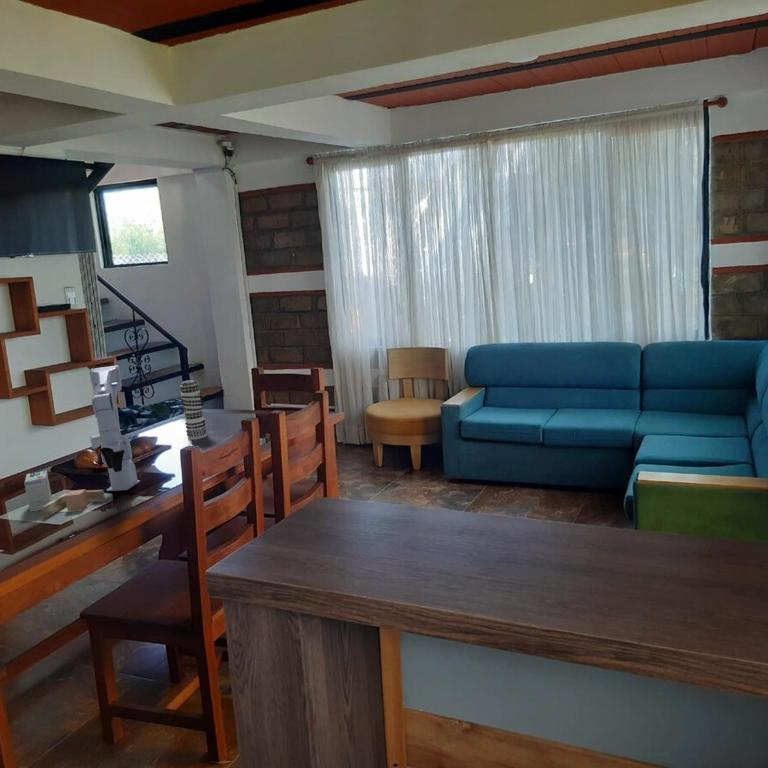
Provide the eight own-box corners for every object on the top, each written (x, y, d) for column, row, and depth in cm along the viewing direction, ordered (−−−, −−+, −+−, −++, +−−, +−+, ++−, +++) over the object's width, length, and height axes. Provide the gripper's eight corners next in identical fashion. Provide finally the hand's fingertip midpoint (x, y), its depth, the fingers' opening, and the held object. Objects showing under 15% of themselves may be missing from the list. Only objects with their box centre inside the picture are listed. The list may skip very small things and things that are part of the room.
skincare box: (97, 467, 294) (91, 437, 291) (94, 465, 297) (89, 436, 295) (113, 463, 297) (107, 434, 295) (110, 461, 301) (105, 432, 298)
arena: (70, 501, 254) (68, 491, 253) (105, 499, 252) (103, 489, 251) (43, 517, 240) (41, 507, 239) (80, 516, 237) (78, 505, 237)
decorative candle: (211, 436, 326) (202, 380, 321) (191, 440, 321) (182, 384, 316) (203, 432, 334) (195, 378, 329) (183, 437, 329) (174, 382, 324)
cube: (73, 505, 249) (70, 490, 248) (88, 503, 249) (85, 489, 248) (67, 510, 244) (65, 495, 243) (83, 508, 244) (80, 494, 243)
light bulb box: (31, 503, 256) (25, 473, 254) (52, 499, 258) (47, 469, 256) (29, 512, 246) (23, 481, 244) (51, 508, 248) (45, 477, 246)
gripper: (126, 429, 242) (133, 470, 244) (114, 424, 254) (121, 463, 256) (104, 434, 238) (111, 475, 240) (93, 429, 250) (100, 468, 252)
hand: (115, 469), depth 248 cm, fingers open, 7 cm apart
